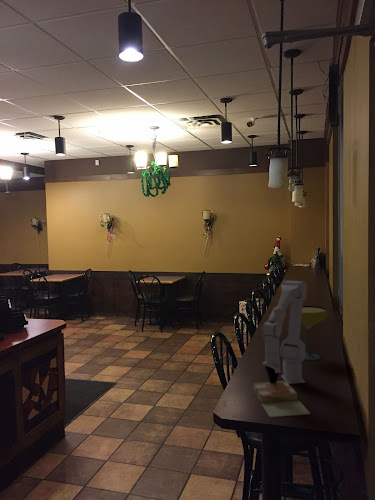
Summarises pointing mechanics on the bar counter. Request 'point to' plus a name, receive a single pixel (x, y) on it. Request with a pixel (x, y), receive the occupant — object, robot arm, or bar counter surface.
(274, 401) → the birch deck
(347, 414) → the bar counter surface
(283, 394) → the terracotta tile
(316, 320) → the cocktail glass
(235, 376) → the bar counter surface
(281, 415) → the sage mat
